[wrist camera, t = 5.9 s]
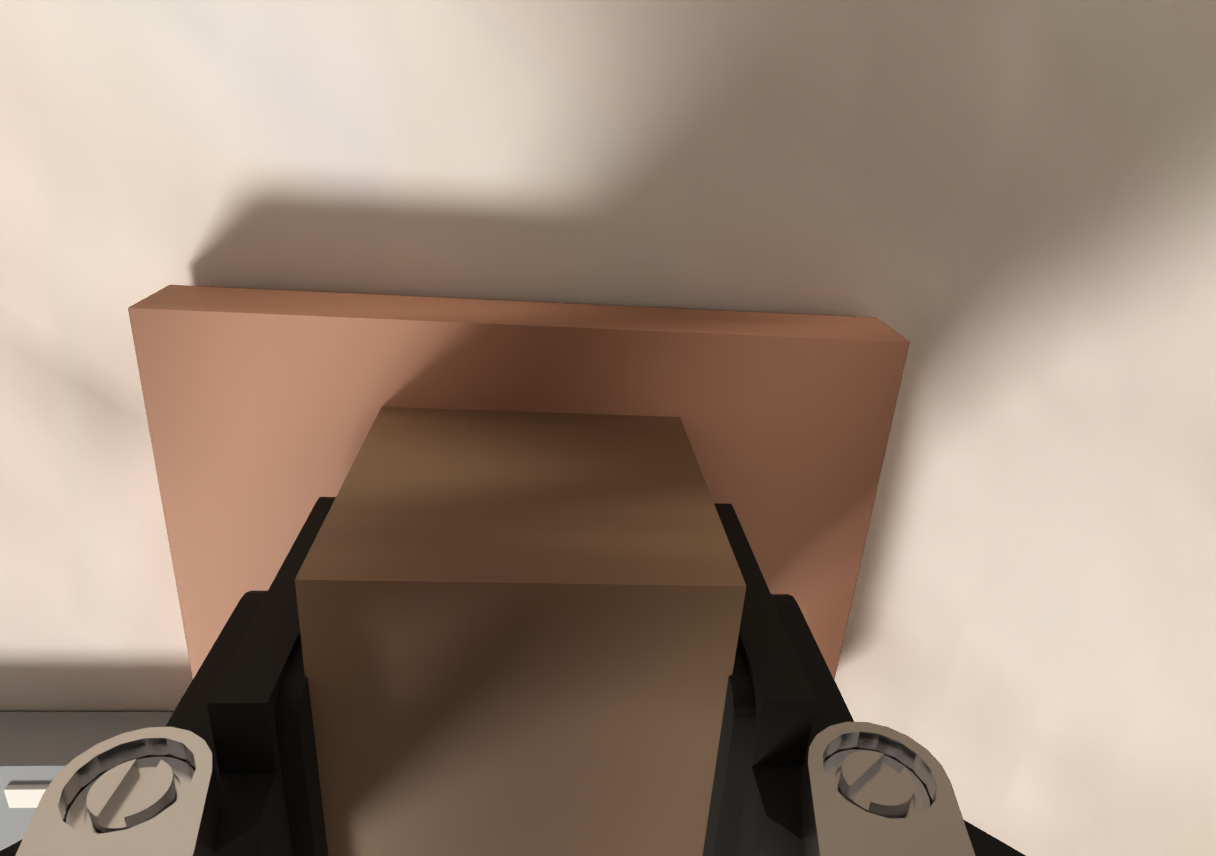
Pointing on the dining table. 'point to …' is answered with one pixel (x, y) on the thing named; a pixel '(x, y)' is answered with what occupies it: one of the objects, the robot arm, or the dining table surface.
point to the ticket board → (50, 755)
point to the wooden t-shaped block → (512, 538)
